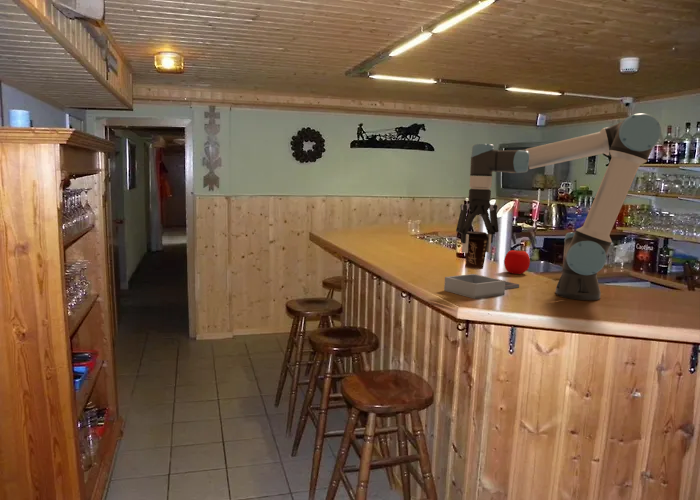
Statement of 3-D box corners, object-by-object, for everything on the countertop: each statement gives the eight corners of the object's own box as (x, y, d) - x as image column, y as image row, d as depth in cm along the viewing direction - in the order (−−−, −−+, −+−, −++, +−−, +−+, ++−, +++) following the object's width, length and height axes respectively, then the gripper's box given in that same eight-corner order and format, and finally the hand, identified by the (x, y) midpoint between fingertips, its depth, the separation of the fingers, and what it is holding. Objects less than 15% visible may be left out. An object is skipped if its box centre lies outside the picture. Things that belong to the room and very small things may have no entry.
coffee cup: (464, 265, 201) (466, 230, 199) (487, 267, 198) (490, 232, 197) (460, 268, 193) (463, 232, 191) (484, 271, 190) (487, 234, 189)
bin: (504, 294, 194) (505, 280, 194) (474, 298, 186) (475, 284, 185) (473, 286, 207) (473, 273, 206) (444, 290, 198) (444, 277, 198)
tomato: (498, 271, 242) (500, 247, 240) (517, 270, 246) (519, 247, 245) (514, 276, 232) (516, 251, 231) (533, 275, 236) (535, 250, 235)
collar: (519, 287, 208) (519, 284, 208) (492, 291, 199) (492, 287, 199) (489, 280, 220) (489, 277, 220) (462, 283, 212) (462, 280, 212)
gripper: (499, 188, 198) (495, 250, 201) (448, 187, 191) (444, 251, 194) (512, 189, 191) (507, 253, 194) (459, 188, 184) (455, 254, 187)
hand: (476, 252), depth 194 cm, fingers closed on coffee cup, 8 cm apart
